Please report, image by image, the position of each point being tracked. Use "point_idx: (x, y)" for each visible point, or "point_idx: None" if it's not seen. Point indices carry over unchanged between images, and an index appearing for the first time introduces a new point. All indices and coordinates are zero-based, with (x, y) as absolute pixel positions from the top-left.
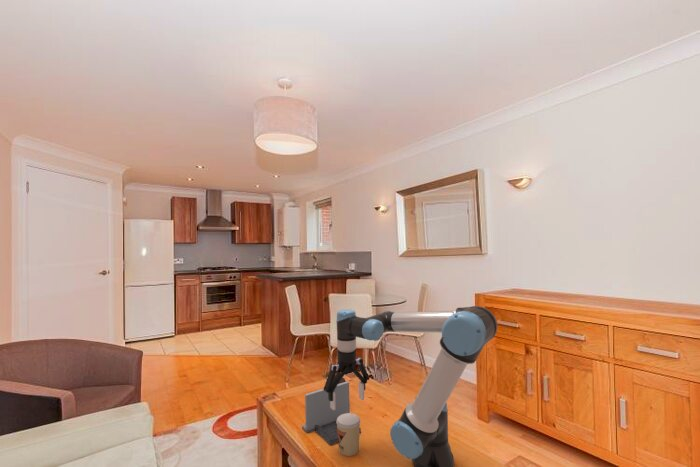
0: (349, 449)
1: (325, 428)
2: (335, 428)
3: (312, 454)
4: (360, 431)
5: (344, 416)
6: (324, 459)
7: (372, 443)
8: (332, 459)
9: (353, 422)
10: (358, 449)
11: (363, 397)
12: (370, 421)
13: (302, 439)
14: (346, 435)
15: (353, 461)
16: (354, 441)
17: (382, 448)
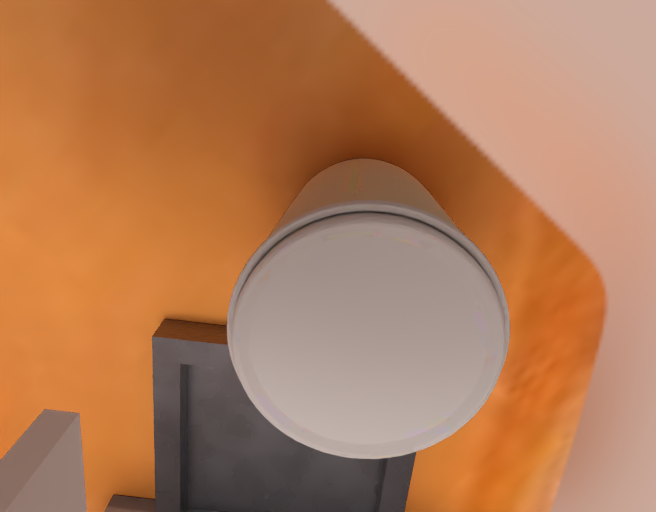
0: (416, 181)
1: (332, 499)
2: (279, 460)
3: (580, 355)
4: (162, 325)
5: (357, 416)
6: (564, 263)
7: (172, 168)
8: (525, 226)
9: (369, 256)
10: (318, 173)
11: (36, 443)
12: (17, 373)
13: (513, 505)
14: (458, 228)
15: (433, 102)
16: (380, 174)
17: (148, 64)
